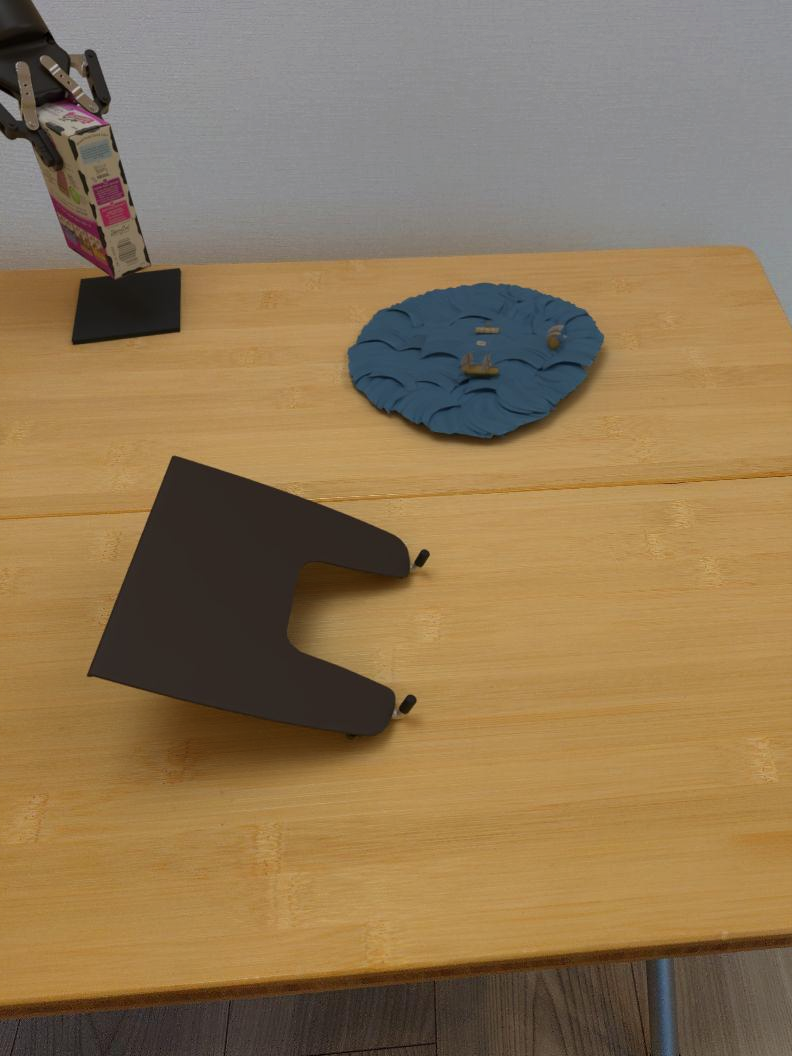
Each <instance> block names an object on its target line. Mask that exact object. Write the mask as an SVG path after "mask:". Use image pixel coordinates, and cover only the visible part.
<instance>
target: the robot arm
mask: <svg viewBox="0 0 792 1056" xmlns="http://www.w3.org/2000/svg"><path fill="white" fill-rule="evenodd" d="M71 68H73V69H74V70H76V71H77V73H78V74H79V75H80V77H82V78H86V81H87V85H88V87H89V91H90V94H91V96H92V99H91V98H90V96H88V95H87V94H86V93H85V92H84V90H83V89H82V87H81V85H79V84H78V82H77V81H75V80H74V79H73V78H72V77H71V76H70V73H71ZM0 92H2V93H4V94H6V95H8V96H9V97H12V99H14V100H17V105H18V107H19V108H18V111H19V110H20V111H19V115H20V119H19V120H17V119H16V118H15V117H14V115H12V114H11V112H9V110H7V108H6V107H5V106H4V105H3V104H2V102H0V133H1V134H3V136H4V137H5V138H6V139H8V140H9V141H15V140H17V139H23V140H24V139H25V140H27V141H28V142H29V143H30V144H31V147H32V146H33V147H34V149H35V150H36V152H37V154H38V155H39V157H40V158H41V160H42V162H43V164H44V165H46V166H47V167H48V168H49V167H52V168H53V170H54V171H55V172H56V171H60V170H62V168H63V161H62V159H61V157H60V155H59V154H58V152H57V150H56V149H55V147H54V145H53V144H52V142H51V140H50V139H49V137H48V135H47V134H46V132H45V130H44V129H42V130H41V129H40V128H39V123H38V117H37V112H36V107H39V106H42V105H44V104H45V103H47V102H58V101H62V100H67V102H70V103H72V104H75V105H76V106H78V107H80V108H82V109H84V110H85V111H87V112H89V113H91V114H93V115H95V116H96V117H98V118H100V119H102V120H104V121H105V119H104V117H103V115H107V114H108V113H109V110H110V104H111V102H112V96H111V94H110V93H111V92H110V91H109V88H108V85H107V81H106V78H105V76H104V73H103V70H102V66H101V63H100V61H99V57H98V55H97V52H96V51H95V50H93V49H90V48H87V49H85V50H84V53H75V54H74V53H73V54H71V53H70V54H69V53H68V52H67V50H65V49H64V48H63V47H61V45H59V44H58V43H57V41H56V40H55V38H54V36H53V33H52V32H51V30H50V29H49V27H48V25H47V24H46V22H45V20H44V19H43V17H42V15H41V13H40V11H39V10H38V8H37V7H36V5H35V4H34V2H33V0H0ZM33 147H32V148H33Z"/></svg>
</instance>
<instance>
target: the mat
mask: <svg viewBox="0 0 792 1056" xmlns="http://www.w3.org/2000/svg"><path fill="white" fill-rule="evenodd" d="M79 282H80V283H79V288H78V294H77V300H76V301H77V302H76V308H75V315H74V322H73V328H72V334H71V344H72V345H82V344H83V345H84V344H90V343H98V342H99V343H100V342H105V341H106V342H107V341H115V340H122V339H129V338H132V339H133V338H138V337H146V336H154V335H156V336H157V335H164V334H172V333H179V332H181V299H182V298H181V297H182V296H181V295H182V294H181V293H182V289H181V288H182V271H181V268H180V267H176V268H175V267H174V268H165V269H157V270H149V271H147V270H146V271H138V272H135V273H132V274H130V275H127V276H125V277H122V278H119V279H114V278H112V277H111V276H109V275H104V276H95V277H86V278H80V281H79Z"/></svg>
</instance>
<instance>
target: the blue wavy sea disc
mask: <svg viewBox="0 0 792 1056" xmlns="http://www.w3.org/2000/svg"><path fill="white" fill-rule="evenodd" d="M604 340H605V334H604V333H602V331H601V330H600V329H599V327H598V326H597V321H596V320H594V318H593V317H592V316H591V315H590V314H589V312H588V311H587V309H584V308H581V307H578V306H577V305H576V303H572V302H570V300H564V299H563V298H561V297H559V296H558V297H555V296H553V295H551V294H546V293H543V292H540V291H538V290H537V289H532V288H530V287H522V286H520V285H517V284H511V283H510V284H506V283H501V282H500V283H499V284H495V283H491V282H477V283H473V284H472V285H471V284H470V285H467V284H461V285H459V286H456V287H453V286H450V287H446V288H435V289H433V290H427V291H426V292H425V293H424V294H423V293H422V294H418V295H416V296H410V297H407V298H406V299H404V300H402V301H401V302H397V303H395V304H391V306H389V307H386V308H382V309H379V310H378V311H377V312H376V313H374V314H373V315H372V318H371V319H370V320H369V322H368V323H367V324H365V325H364V326H363V327H362V329H361V331H360V334H358V335H357V336H356V342H355V344H353V345H351V346H350V347H348V349H347V357H348V363H347V367H348V371H349V377H353V378H352V381H351V383H352V384H353V385H354V386H355V388H356V389H357V390H358V391H359V392H363V393H364V395H365V396H366V397H367V399H368V400H369V401H370V402H371V403H372V404H373V405H374V407H377V409H378V410H382V409H383V408H384V409H385V411H386V413H387V415H390V414H391V411H396V412H397V413H399V414H401V415H402V416H403V417H404V418H406V419H408V420H409V421H410V422H412V423H415V424H417V425H419V424H420V423H423V425H425V426H426V427H427V428H429V430H430V432H436V433H444V434H447V435H452V434H455V433H457V434H460V435H467V436H472V437H478V438H480V439H484V438H487V439H492V437H493V436H494V435H495V436H497V437H500V438H501V439H503V438H505V436H504V435H505V434H507V433H509V432H513V431H515V430H517V428H519V427H520V426H524V425H526V424H529V423H532V422H536V421H538V420H543V419H544V418H545V417H548V416H549V415H550V412H551V411H556V410H558V409H559V407H554V406H555V405H558V403H559V402H560V401H561V400H565V398H566V397H568V395H569V394H571V393H572V392H573V391H575V390H576V389H577V388H578V387H579V385H581V384H582V383H583V382H584V380H585V379H586V377H587V375H588V374H589V372H588V371H586V369H584V367H587V368H590V367H591V366H592V364H593V362H595V361H596V360H595V359H597V355H598V354H599V352H600V351H601V349H602V346H603V344H604ZM583 366H584V367H583Z"/></svg>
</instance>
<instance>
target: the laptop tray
mask: <svg viewBox="0 0 792 1056" xmlns="http://www.w3.org/2000/svg"><path fill="white" fill-rule="evenodd" d="M165 470H166V471H165V473H164V475H163V478H162V481H161V484H160V486H159V489H158V491H157V494H156V496H155V499H154V500H153V501H154V502H153V504H152V506H151V509H150V511H149V514H148V516H147V519H146V522H145V525H144V527H143V529H142V532H141V535H140V537H139V540H138V541H137V544H136V547H135V550H134V552H133V555H132V557H131V560H130V562H129V564H128V568H127V570H126V573H125V576H124V578H123V581H122V583H121V586H120V588H119V591H118V594H117V596H116V599H115V602H114V604H113V606H112V608H111V611H110V614H109V617H108V618H107V619H108V620H107V621H106V624H105V627H104V630H103V632H102V634H101V637H100V640H99V643H98V645H97V647H96V650H95V652H94V655H93V658H92V661H91V663H90V665H89V669H88V671H87V674H86V677H87V678H97V679H100V680H104V681H108V682H111V683H115V684H118V685H121V686H126V687H129V688H132V689H136V690H139V691H143V692H148V693H151V694H154V695H159V696H163V697H167V698H170V699H174V700H178V701H182V702H185V703H190V704H194V705H198V706H202V707H205V708H206V707H207V708H211V709H215V710H220V711H224V712H229V713H233V714H237V715H241V716H245V717H248V718H249V717H250V718H255V719H259V720H263V721H267V722H273V723H277V724H283V725H288V726H293V727H300V728H304V729H311V730H317V731H321V732H322V731H323V732H329V733H335V734H343V735H345V737H346V739H347V740H348V741H353V740H355V739H357V738H365V737H374V736H378V735H380V734H381V733H383V732H384V731H385V730H386V729H387V727H388V726H389V725H390V722H391V720H402V719H403V718H405V717H407V715H408V714H410V712H411V711H412V709H413V708H414V706H415V705H416V703H418V699H417V697H416V696H415V695H414V694H411V693H409V694H406V696H405V698H404V699H403V700H402V702H401V703H400V705H399V706H398V708H395V707H396V701H397V699H396V698H397V697H396V693H395V692H394V690H393V689H391V688H390V687H388V686H386V685H384V684H382V683H380V682H378V681H376V680H373V679H371V678H369V677H367V676H364V675H361V674H360V673H358V672H355V671H353V670H350V669H348V668H346V667H344V666H341V665H338V664H335V663H333V662H330V661H327V660H325V659H322V658H319V657H316V656H313V655H311V654H308V653H306V652H303V651H301V650H299V648H296V647H295V646H294V645H293V644H292V642H291V641H290V639H289V636H288V630H289V629H288V628H289V623H290V622H289V621H290V617H291V611H292V607H293V603H294V602H293V601H294V598H295V593H296V589H297V585H298V580H299V576H300V572H301V570H302V569H303V567H304V566H306V565H308V564H312V563H317V564H324V565H328V566H333V567H336V568H341V569H345V570H349V571H354V572H357V573H358V572H359V573H364V574H369V575H376V576H382V577H386V578H393V579H406V578H408V576H409V575H410V574H415V573H418V572H419V571H421V570H422V568H423V567H424V566H425V564H426V563H427V561H428V560H429V558H430V556H431V553H430V551H429V550H428V549H426V548H422V549H421V550H420V551H419V553H418V555H417V556H416V558H415V560H414V562H413V563H411V558H410V552H409V550H408V546H407V545H406V544H405V542H403V540H402V539H401V538H399V537H398V536H397V535H395V534H393V533H391V532H389V531H387V530H385V529H382V528H380V527H378V526H375V525H373V524H371V523H368V522H366V521H364V520H362V519H359V518H357V517H354V516H352V515H350V514H347V513H344V512H341V511H339V510H337V509H334V508H332V507H329V506H326V505H324V504H321V503H320V502H319V503H318V502H315V501H313V500H310V499H308V498H305V497H302V496H300V495H297V494H294V493H290V492H288V491H285V490H282V489H279V488H277V487H274V486H271V485H268V484H265V483H262V482H259V481H256V480H253V479H250V478H248V477H244V476H241V475H238V474H235V473H232V472H229V471H225V470H222V469H220V468H217V467H213V466H210V465H207V464H204V463H200V462H198V461H195V460H191V459H188V458H185V457H182V456H178V455H172V456H171V457H170V461H169V463H168V465H167V468H166V469H165Z"/></svg>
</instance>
